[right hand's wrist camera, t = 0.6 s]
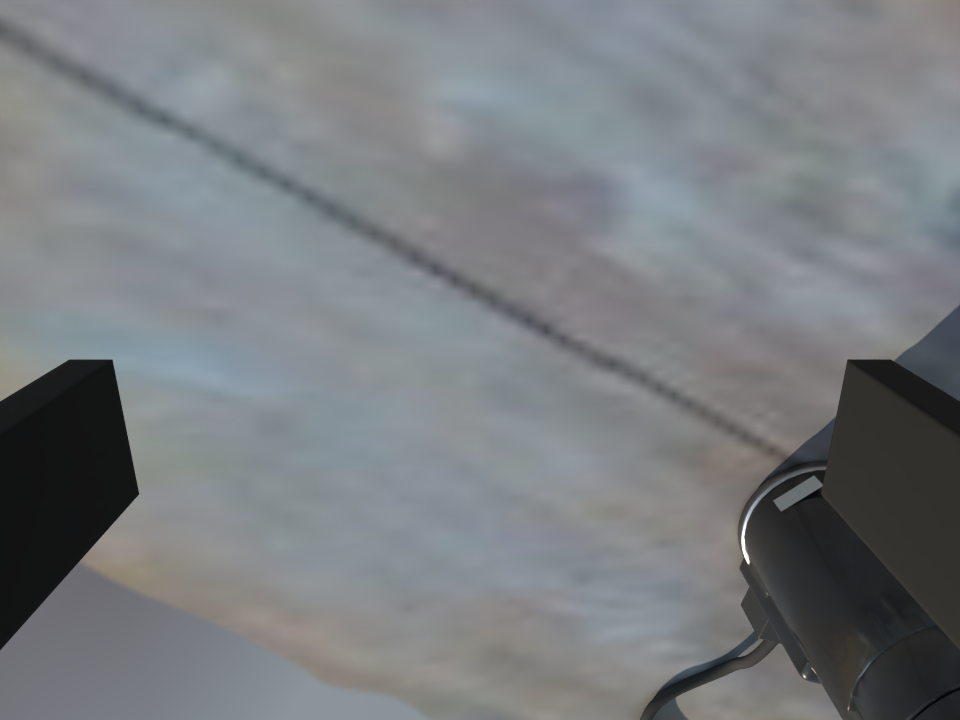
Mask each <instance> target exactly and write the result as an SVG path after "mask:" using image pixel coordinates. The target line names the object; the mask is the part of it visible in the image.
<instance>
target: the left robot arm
mask: <svg viewBox="0 0 960 720" xmlns="http://www.w3.org/2000/svg"><path fill="white" fill-rule="evenodd" d="M826 466H827V462H812V463H806V464H801V465H798V466H794V467H791V468H789V469H787V470H784V471H782V472H780V473H778V474H777V475H775V476H773V477H772V478H770V479H769V480H768V481H766V482H765V483H764V484H763V485H761V486H760V487H759V488H758V489H757V490H756V491H755V493H754V494H753V495H752V496H751V497H750V499H749V500H748V502H747V504H746V505H745V507H744V509H743V512H742V514H741V517H740V520H739V525H738V541H739V546H740V549H741V552H742V554H743V556H744V559H743V562H742V564H741V566H740V571H741V572H742V574H743V576H744V578H745V580H746V581H747V583H748V585H749V589H748V591H747V593H746V595H745V597H744V599H743V601H742V603H741V606H742V608H743V610H744V612H745V614H746V616H747V618H748V620H749V621H750V623H751V625H752V627H753V629H754V631H755V633H756V635H757V637H758V638H759V639H763V642H762V643H761V644H760V645H759V646H758V647H757V648H756V649H755V650H753V651H752V652H751V653H749V654H748V655H746V656H743V657H737V658H733V659H731V660H729V661H726V662H724V663H722V664H720V665H718V666H715V667H713V668H711V669H708V670H706V671H704V672H701V673H699V674H697V675H694V676H692V677H689V678H687V679H685V680H682V681H680V682H678V683H676V684H674V685H672V686H670V687H668V688H667V689H665V690H664V691H662V692H661V693H659V694H658V695H657V696H656V697H655V698H654V699H653V700H652V701H651V702H650V703H649V704H648V705H647V707H646V708H645V710H644V712H643V714H642V716H641V718H640V720H652V718H653V716H654V715H655V714H656V712H657V711H658V710H659V709H660V708H661V707H662V706H663V705H665V704H666V703H667V702H669V701H670V700H672V699H673V698H675V697H677V696H679V695H681V694H682V693H684V692H687V691H689V690H691V689H693V688H696V687H698V686H701V685H703V684H706V683H708V682H711V681H713V680H716V679H718V678H720V677H723V676H725V675H727V674H730V673H732V672H734V671H736V670H739V669H745V668H749V667H752V666H754V665H755V664H757V663H758V662H760V661H761V660H762V659H763V658H764V657H766V656H767V655H768V654H769V653H770V652H771V651H772V650H773V649H774V647H775V646H776V645H777V644H778V643H780V644H782V645H783V646H784V648H785V650H786V652H787V653H788V655H789V657H790V659H791V661H792V662H793V664H794V666H795V668H796V669H797V671H798V673H799V674H800V676H801V677H802V678H804V679H805V680H807V681H810V682H814V683H818V684H822V686H823V687H824V689H825V691H826V692H827V694H828V696H829V697H830V699H831V701H832V702H833V704H834V706H835V708H836V709H837V711H838V713H839V714H840V716H841V718H842V719H843V720H960V650H959V649H958V648H957V646H956V645H955V644H954V643H953V642H952V641H951V640H950V639H949V638H948V636H947V635H946V634H945V633H944V632H943V631H942V630H941V629H940V627H939V626H938V625H937V624H936V623H935V622H934V621H933V620H932V618H931V617H930V616H929V615H928V614H927V613H926V612H925V611H924V609H923V608H922V607H921V606H920V605H919V604H918V603H917V602H916V600H915V599H914V598H913V597H912V596H911V595H910V594H909V593H908V591H907V590H906V589H905V588H904V587H903V586H902V585H901V584H900V582H899V581H898V580H897V579H896V578H895V577H894V576H893V575H892V573H891V572H890V571H889V570H888V569H887V568H886V567H885V566H884V564H883V563H882V562H881V561H880V560H879V559H878V558H877V557H876V555H875V554H874V553H873V552H872V551H871V550H870V549H869V548H868V546H867V545H866V544H865V543H864V542H863V541H862V540H861V539H860V537H859V536H858V535H857V534H856V533H855V532H854V531H853V530H852V529H851V527H850V526H849V525H848V524H847V523H846V522H845V521H844V520H843V518H842V517H841V516H840V515H839V514H838V513H837V512H836V511H835V509H834V508H833V507H832V506H831V505H830V504H829V503H828V502H827V500H826V499H825V498H824V497H823V496H822V495H821V491H822V486H823V481H824V476H825V471H826Z"/></svg>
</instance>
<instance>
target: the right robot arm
mask: <svg viewBox="0 0 960 720" xmlns="http://www.w3.org/2000/svg"><path fill="white" fill-rule="evenodd" d="M138 495H139V491H138V486H137V481H136V476H135V471H134V466H133V461H132V456H131V451H130V446H129V441H128V436H127V431H126V426H125V421H124V416H123V411H122V406H121V400H120V395H119V390H118V385H117V380H116V375H115V370H114V365H113V360H68V361H66V362H65V363H63V364H61V365H60V366H58V367H57V368H55V369H53V370H52V371H50V372H48V373H47V374H45V375H43V376H42V377H40V378H38V379H37V380H35V381H33V382H32V383H30V384H28V385H27V386H25V387H23V388H22V389H20V390H19V391H17V392H15V393H14V394H12V395H10V396H9V397H7V398H5V399H4V400H2V401H0V650H1V649H2V648H3V646H4V645H5V644H6V643H7V642H8V641H9V640H10V639H11V637H12V636H13V635H14V634H15V633H16V632H17V631H18V630H19V629H20V627H21V626H22V625H23V624H24V623H25V622H26V621H27V619H28V618H29V617H30V616H31V615H32V614H33V613H34V612H35V611H36V609H37V608H38V607H39V606H40V605H41V604H42V603H43V602H44V600H45V599H46V598H47V597H48V596H49V595H50V594H51V593H52V591H53V590H54V589H55V588H56V587H57V586H58V585H59V584H60V582H61V581H62V580H63V579H64V578H65V577H66V576H67V575H68V573H69V572H70V571H71V570H72V569H73V568H74V567H75V566H76V564H77V563H78V562H79V561H80V560H81V559H82V558H83V557H84V555H85V554H86V553H87V552H88V551H89V550H90V549H91V548H92V546H93V545H94V544H95V543H96V542H97V541H98V540H99V539H100V537H101V536H102V535H103V534H104V533H105V532H106V531H107V530H108V529H109V527H110V526H111V525H112V524H113V523H114V522H115V521H116V520H117V518H118V517H119V516H120V515H121V514H122V513H123V512H124V511H125V509H126V508H127V507H128V506H129V505H130V504H131V503H132V502H133V500H134V499H135V498H136V497H137V496H138ZM821 495H822V496H823V497H824V498H825V499H826V500H827V502H828V503H829V504H830V505H831V506H832V507H833V508H834V509H835V511H836V512H837V513H838V514H839V515H840V516H841V517H842V518H843V520H844V521H845V522H846V523H847V524H848V525H849V526H850V527H851V529H852V530H853V531H854V532H855V533H856V534H857V535H858V536H859V537H860V539H861V540H862V541H863V542H864V543H865V544H866V545H867V546H868V548H869V549H870V550H871V551H872V552H873V553H874V554H875V555H876V557H877V558H878V559H879V560H880V561H881V562H882V563H883V564H884V566H885V567H886V568H887V569H888V570H889V571H890V572H891V573H892V575H893V576H894V577H895V578H896V579H897V580H898V581H899V582H900V584H901V585H902V586H903V587H904V588H905V589H906V590H907V591H908V593H909V594H910V595H911V596H912V597H913V598H914V599H915V600H916V602H917V603H918V604H919V605H920V606H921V607H922V608H923V609H924V611H925V612H926V613H927V614H928V615H929V616H930V617H931V618H932V620H933V621H934V622H935V623H936V624H937V625H938V626H939V627H940V629H941V630H942V631H943V632H944V633H945V634H946V635H947V636H948V638H949V639H950V640H951V641H952V642H953V643H954V644H955V645H956V646H957V648H958V649H959V650H960V401H958V400H956V399H955V398H953V397H951V396H950V395H948V394H946V393H945V392H943V391H941V390H940V389H938V388H937V387H935V386H933V385H932V384H930V383H928V382H927V381H925V380H923V379H922V378H920V377H918V376H917V375H915V374H913V373H912V372H910V371H908V370H907V369H905V368H903V367H902V366H900V365H899V364H897V363H895V362H894V361H892V360H847V365H846V370H845V375H844V380H843V385H842V390H841V395H840V400H839V406H838V411H837V416H836V421H835V426H834V431H833V436H832V441H831V446H830V451H829V456H828V461H827V466H826V471H825V476H824V481H823V486H822V491H821Z"/></svg>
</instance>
